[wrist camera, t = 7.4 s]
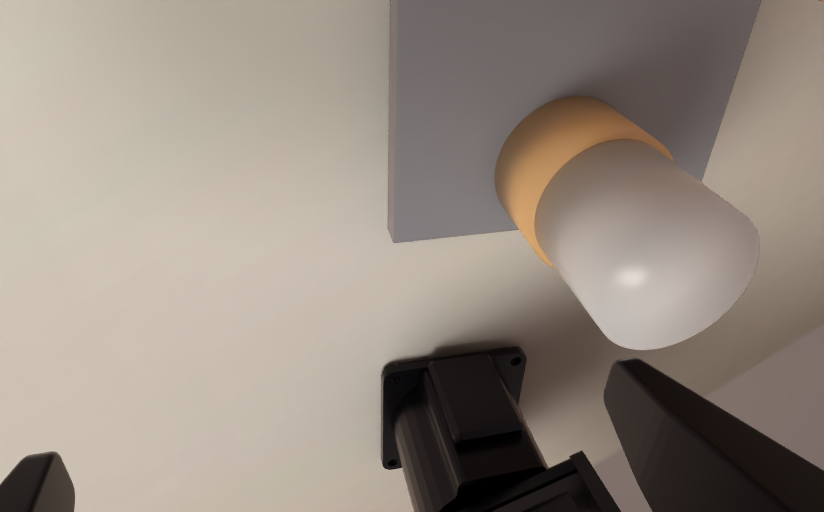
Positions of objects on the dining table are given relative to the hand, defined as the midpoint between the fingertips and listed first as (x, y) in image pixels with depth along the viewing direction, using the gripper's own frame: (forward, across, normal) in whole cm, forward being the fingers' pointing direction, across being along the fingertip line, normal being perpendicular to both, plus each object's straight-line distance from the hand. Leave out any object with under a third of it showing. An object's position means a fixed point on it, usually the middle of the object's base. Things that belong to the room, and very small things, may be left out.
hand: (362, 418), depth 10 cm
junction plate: (+12, -9, -4) cm, 16 cm away
